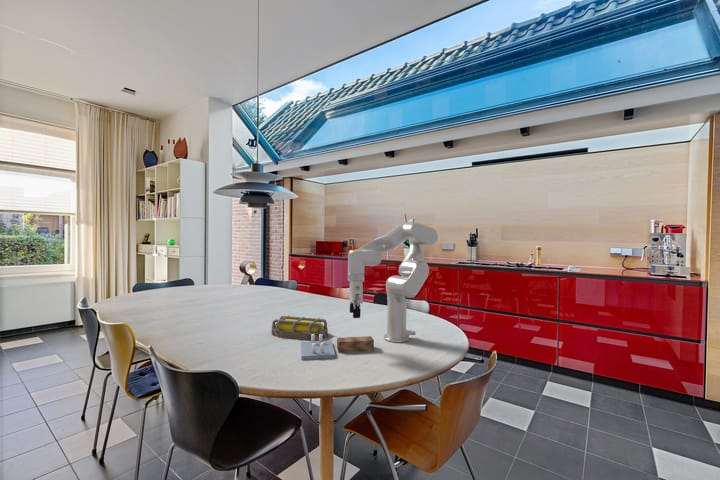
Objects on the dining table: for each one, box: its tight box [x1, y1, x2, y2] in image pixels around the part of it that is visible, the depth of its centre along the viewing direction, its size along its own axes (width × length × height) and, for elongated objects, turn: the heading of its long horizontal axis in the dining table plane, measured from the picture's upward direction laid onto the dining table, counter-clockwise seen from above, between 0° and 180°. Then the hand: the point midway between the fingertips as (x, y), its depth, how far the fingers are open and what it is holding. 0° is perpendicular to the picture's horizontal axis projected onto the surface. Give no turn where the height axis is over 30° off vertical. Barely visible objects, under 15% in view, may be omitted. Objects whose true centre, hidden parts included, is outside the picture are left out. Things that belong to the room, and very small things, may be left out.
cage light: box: [271, 315, 329, 341], centre depth 170 cm, size 15×8×30 cm
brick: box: [336, 335, 375, 354], centre depth 148 cm, size 16×6×5 cm, turn 100°
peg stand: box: [300, 334, 336, 361], centre depth 145 cm, size 14×18×6 cm
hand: (354, 315), depth 148 cm, fingers open, 9 cm apart
